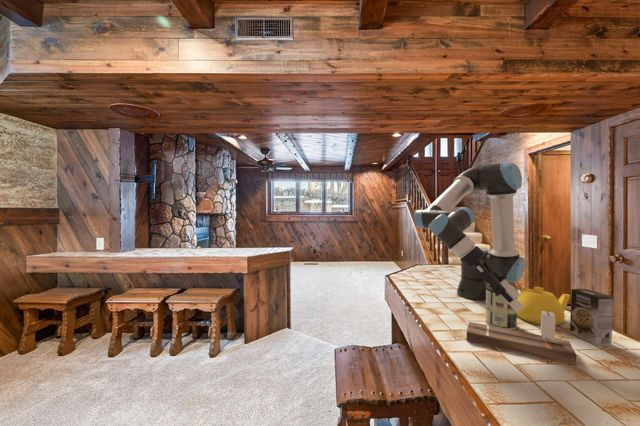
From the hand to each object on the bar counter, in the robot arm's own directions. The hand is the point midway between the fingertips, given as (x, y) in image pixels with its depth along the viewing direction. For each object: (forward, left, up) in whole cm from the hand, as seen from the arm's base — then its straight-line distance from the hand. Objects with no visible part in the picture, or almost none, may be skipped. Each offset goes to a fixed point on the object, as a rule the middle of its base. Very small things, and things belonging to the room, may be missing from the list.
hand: (518, 302), depth 94 cm
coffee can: (-17, -4, -14) cm, 23 cm away
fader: (0, +8, -11) cm, 13 cm away
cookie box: (-19, +22, -14) cm, 32 cm away
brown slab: (0, 0, -14) cm, 14 cm away
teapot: (-34, +10, -14) cm, 38 cm away
